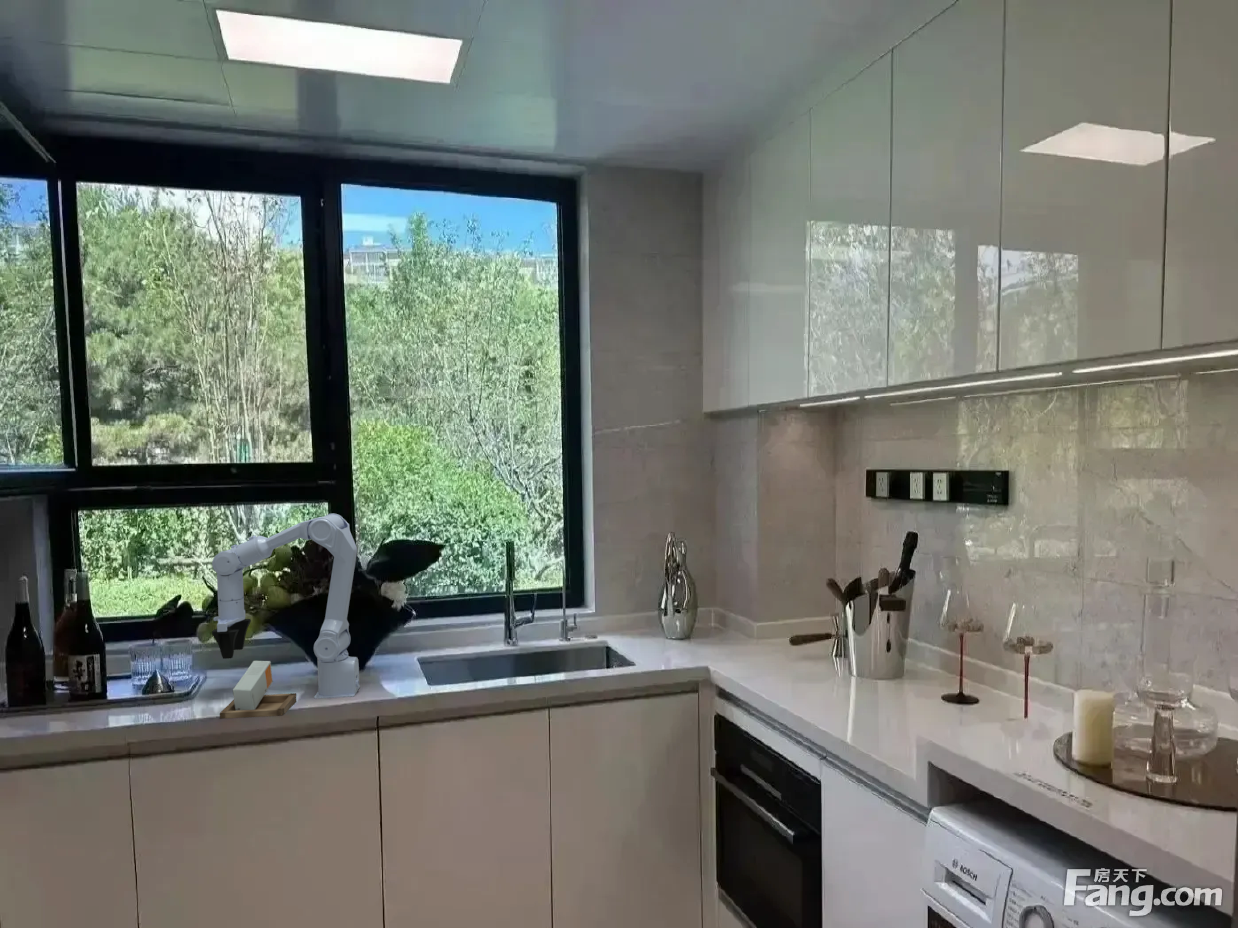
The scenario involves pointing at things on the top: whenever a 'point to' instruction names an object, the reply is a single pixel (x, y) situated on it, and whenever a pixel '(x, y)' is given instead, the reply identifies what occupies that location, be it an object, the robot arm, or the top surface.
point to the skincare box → (253, 685)
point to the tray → (263, 707)
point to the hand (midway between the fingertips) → (233, 653)
